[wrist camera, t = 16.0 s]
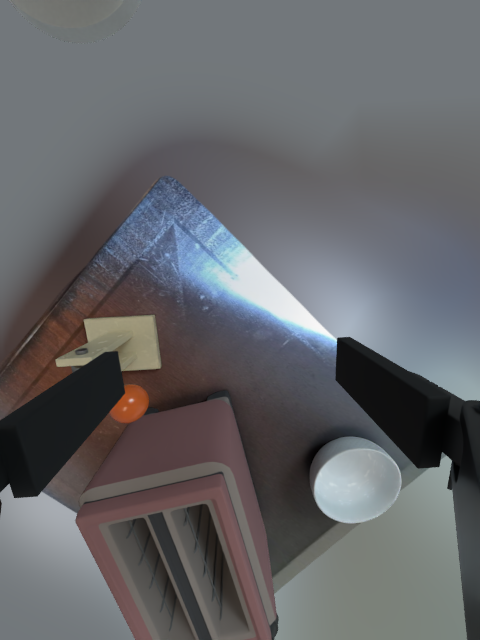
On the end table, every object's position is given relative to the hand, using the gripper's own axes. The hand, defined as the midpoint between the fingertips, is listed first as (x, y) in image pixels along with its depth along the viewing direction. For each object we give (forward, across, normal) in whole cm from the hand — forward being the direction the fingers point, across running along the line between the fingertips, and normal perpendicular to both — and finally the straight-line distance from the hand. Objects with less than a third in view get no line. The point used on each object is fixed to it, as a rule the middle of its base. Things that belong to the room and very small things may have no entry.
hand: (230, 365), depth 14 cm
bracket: (+29, -20, -7) cm, 36 cm away
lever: (+13, -14, -7) cm, 20 cm away
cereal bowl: (+29, +22, -36) cm, 51 cm away
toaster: (+29, -8, -36) cm, 46 cm away
